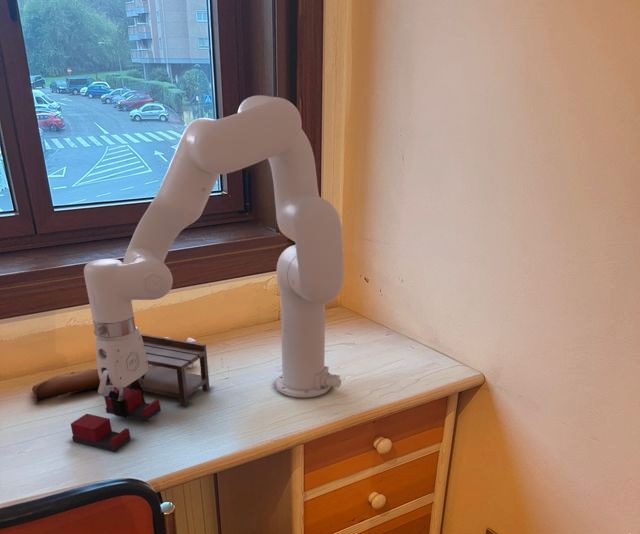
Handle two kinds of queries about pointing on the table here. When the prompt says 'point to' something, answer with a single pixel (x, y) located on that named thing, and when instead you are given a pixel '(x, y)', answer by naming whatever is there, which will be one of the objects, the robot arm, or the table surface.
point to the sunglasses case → (66, 384)
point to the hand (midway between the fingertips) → (129, 409)
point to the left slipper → (98, 433)
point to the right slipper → (136, 405)
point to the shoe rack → (174, 367)
